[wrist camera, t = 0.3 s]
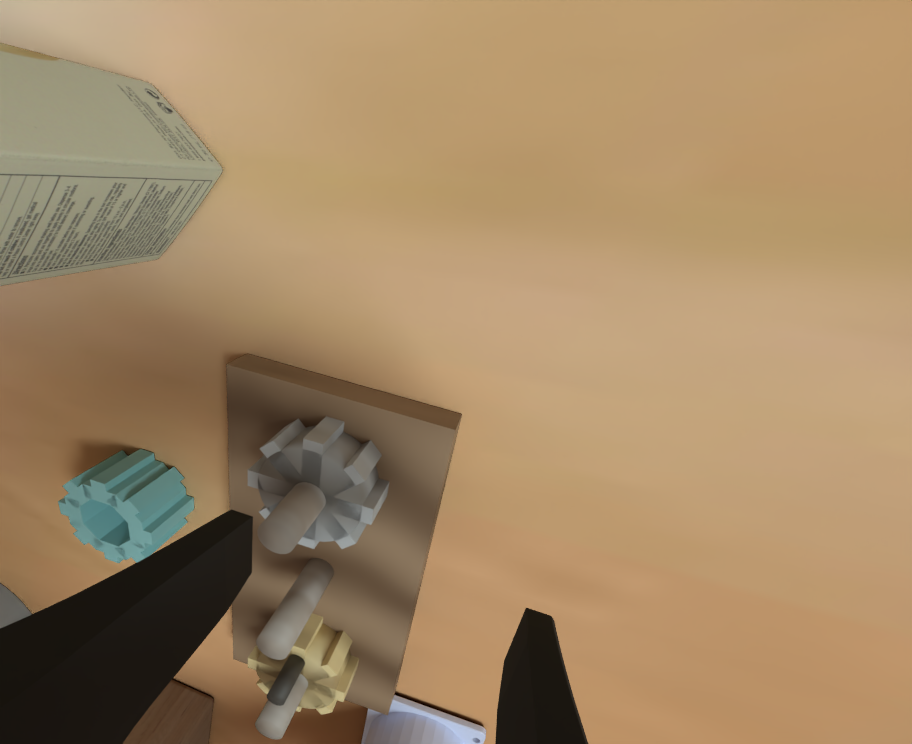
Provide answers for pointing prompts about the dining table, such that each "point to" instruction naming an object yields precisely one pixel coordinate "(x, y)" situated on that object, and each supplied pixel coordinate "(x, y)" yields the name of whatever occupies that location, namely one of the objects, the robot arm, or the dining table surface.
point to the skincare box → (90, 168)
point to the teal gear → (127, 505)
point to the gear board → (380, 543)
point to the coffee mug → (11, 607)
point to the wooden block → (175, 718)
